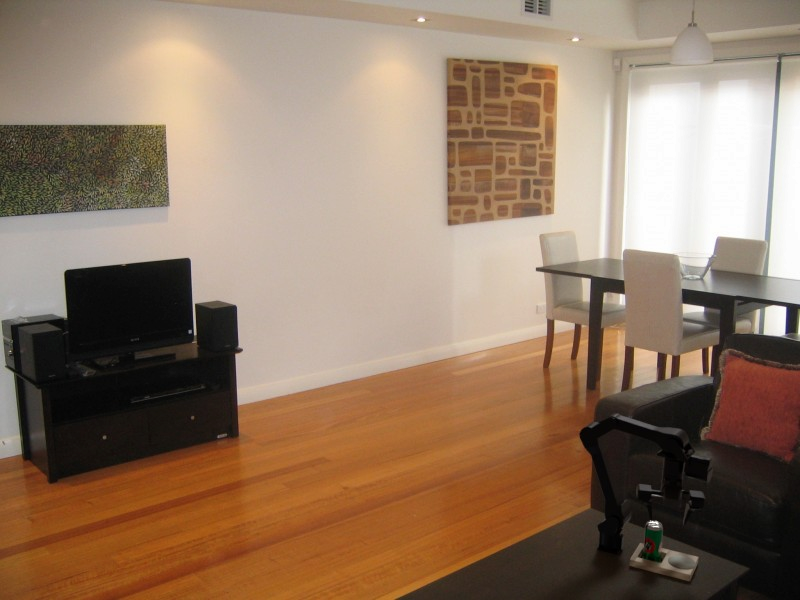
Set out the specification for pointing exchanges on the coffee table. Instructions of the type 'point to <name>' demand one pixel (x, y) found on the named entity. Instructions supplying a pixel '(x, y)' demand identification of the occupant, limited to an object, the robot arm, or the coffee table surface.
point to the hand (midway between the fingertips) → (667, 522)
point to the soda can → (653, 541)
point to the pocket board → (667, 563)
